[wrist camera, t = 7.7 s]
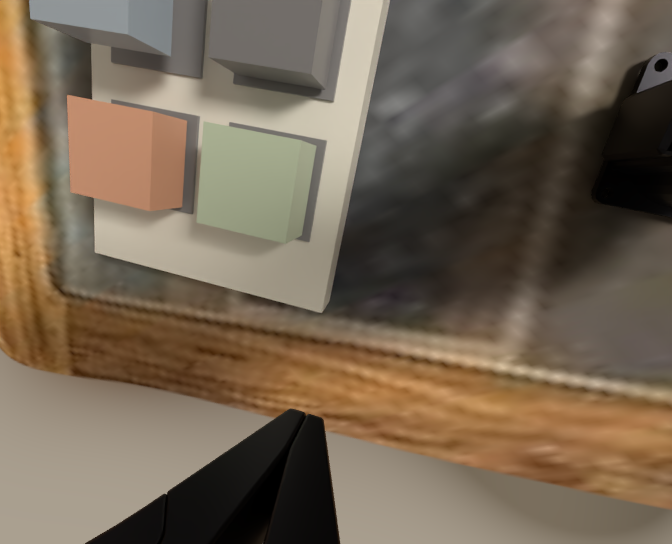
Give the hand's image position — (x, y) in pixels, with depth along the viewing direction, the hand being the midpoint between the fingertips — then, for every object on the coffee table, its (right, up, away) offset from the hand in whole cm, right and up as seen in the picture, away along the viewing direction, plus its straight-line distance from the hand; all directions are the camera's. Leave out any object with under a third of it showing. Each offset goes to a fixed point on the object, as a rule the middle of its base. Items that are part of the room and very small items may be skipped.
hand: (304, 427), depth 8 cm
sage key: (-3, +8, +9) cm, 13 cm away
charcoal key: (-2, +15, +7) cm, 17 cm away
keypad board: (-5, +13, +11) cm, 18 cm away
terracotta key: (-10, +10, +10) cm, 17 cm away
